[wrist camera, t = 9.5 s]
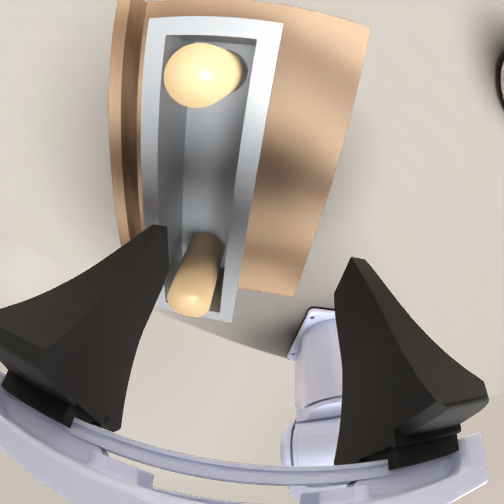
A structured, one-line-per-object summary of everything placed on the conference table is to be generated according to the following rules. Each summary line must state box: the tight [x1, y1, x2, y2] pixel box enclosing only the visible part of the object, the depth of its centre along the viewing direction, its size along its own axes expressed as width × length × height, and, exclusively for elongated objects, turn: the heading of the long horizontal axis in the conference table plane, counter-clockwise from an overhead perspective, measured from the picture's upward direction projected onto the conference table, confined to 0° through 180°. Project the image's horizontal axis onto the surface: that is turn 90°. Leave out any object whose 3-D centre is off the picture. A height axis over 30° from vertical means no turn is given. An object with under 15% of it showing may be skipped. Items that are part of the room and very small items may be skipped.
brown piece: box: [109, 0, 371, 297], centre depth 16 cm, size 20×13×4 cm, turn 171°
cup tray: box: [141, 16, 283, 323], centre depth 14 cm, size 16×5×6 cm, turn 171°
